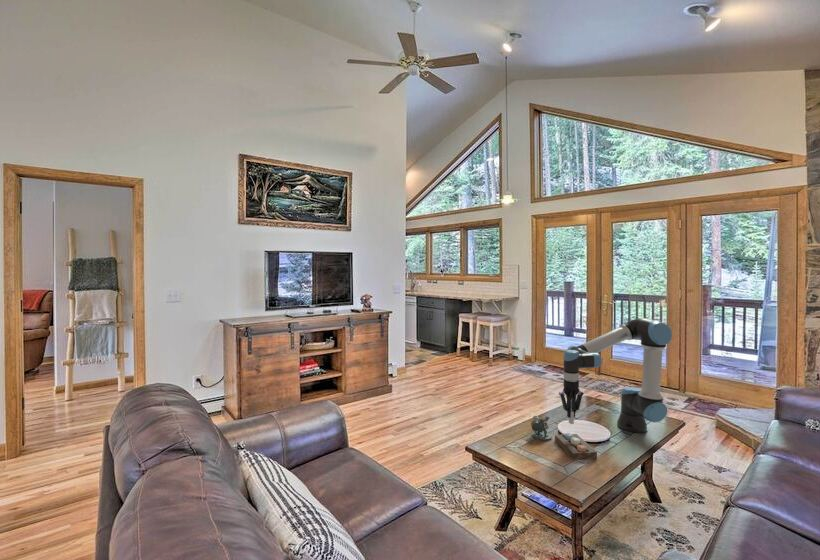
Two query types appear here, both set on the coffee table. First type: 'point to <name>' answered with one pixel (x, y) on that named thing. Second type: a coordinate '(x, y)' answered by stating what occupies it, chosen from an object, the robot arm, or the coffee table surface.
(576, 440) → the button cream
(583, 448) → the button terracotta
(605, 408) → the coffee table surface
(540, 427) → the figurine
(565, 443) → the button board
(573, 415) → the robot arm
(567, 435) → the button slate
